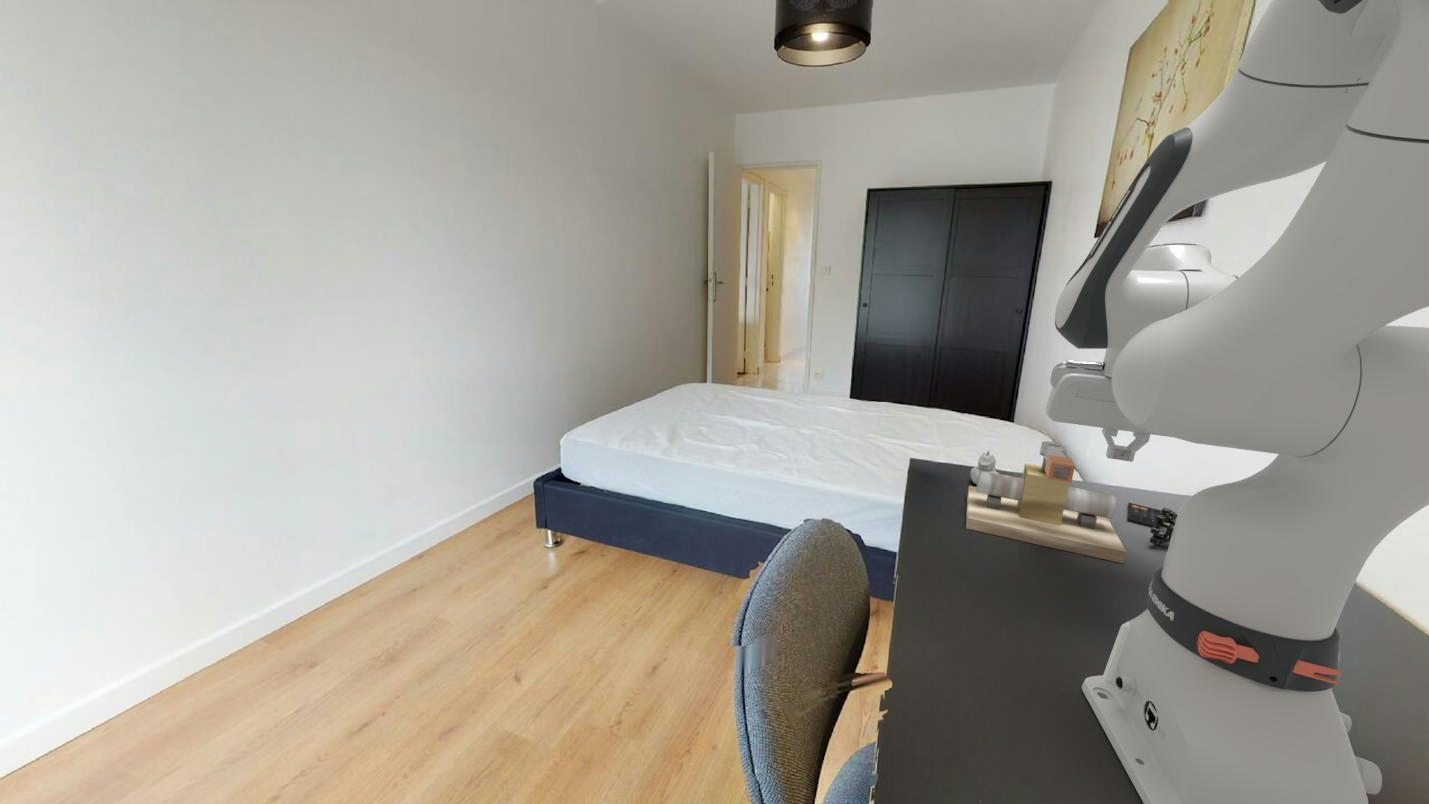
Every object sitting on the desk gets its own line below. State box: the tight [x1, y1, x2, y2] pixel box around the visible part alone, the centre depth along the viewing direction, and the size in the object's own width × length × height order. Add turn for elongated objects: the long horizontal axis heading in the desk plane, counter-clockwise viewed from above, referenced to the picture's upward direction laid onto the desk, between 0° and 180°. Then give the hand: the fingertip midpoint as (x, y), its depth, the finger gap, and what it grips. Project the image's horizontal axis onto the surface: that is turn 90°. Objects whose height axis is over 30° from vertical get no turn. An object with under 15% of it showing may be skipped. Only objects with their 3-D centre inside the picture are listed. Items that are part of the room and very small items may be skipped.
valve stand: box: [965, 457, 1127, 564], centre depth 89 cm, size 16×22×13 cm
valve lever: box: [1039, 440, 1076, 484], centre depth 83 cm, size 14×3×3 cm, turn 154°
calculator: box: [1126, 502, 1178, 529], centre depth 93 cm, size 9×12×3 cm
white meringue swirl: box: [970, 449, 1000, 485], centre depth 107 cm, size 5×7×8 cm
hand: (1118, 459), depth 75 cm, fingers closed
